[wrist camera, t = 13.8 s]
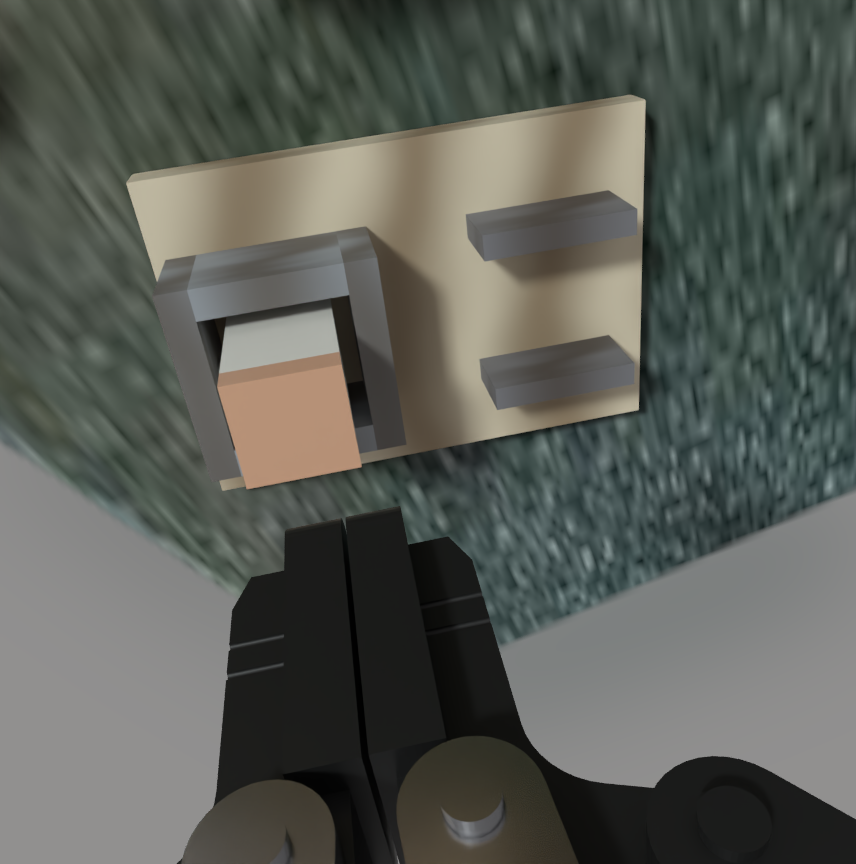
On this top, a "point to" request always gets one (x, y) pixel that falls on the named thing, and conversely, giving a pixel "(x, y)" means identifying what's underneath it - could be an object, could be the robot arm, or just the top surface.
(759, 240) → the top surface
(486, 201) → the panel
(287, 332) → the plug
